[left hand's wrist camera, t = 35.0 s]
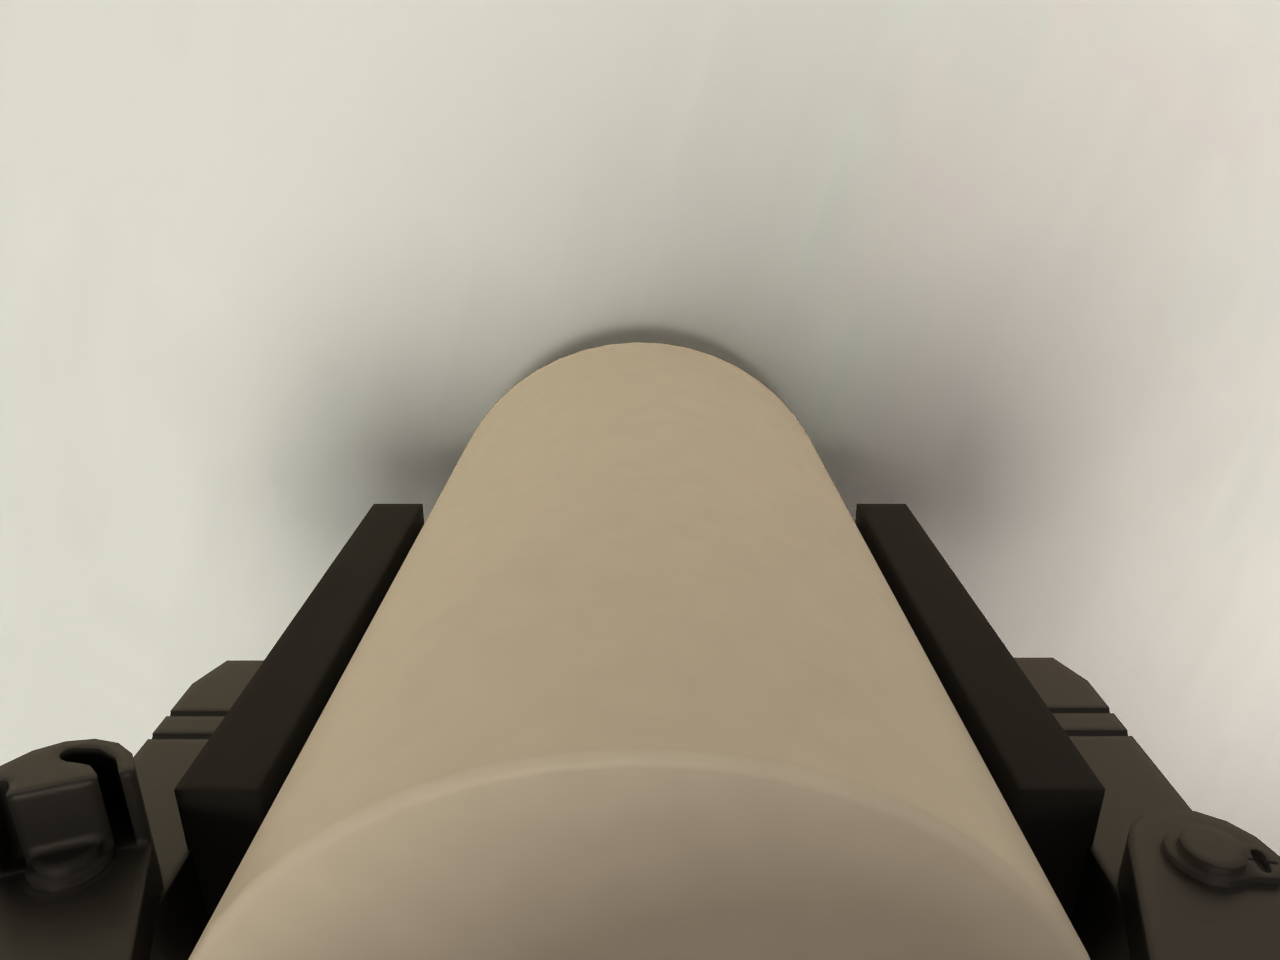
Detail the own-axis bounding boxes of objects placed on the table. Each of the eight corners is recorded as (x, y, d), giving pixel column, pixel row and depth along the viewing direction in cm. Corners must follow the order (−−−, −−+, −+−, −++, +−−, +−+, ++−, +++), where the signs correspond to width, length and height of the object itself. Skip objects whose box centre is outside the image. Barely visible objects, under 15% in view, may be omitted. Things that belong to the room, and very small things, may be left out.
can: (893, 424, 16) (1336, 947, 6) (736, 728, 18) (856, 1479, 8) (522, 279, 15) (279, 600, 5) (406, 618, 17) (79, 1310, 7)
